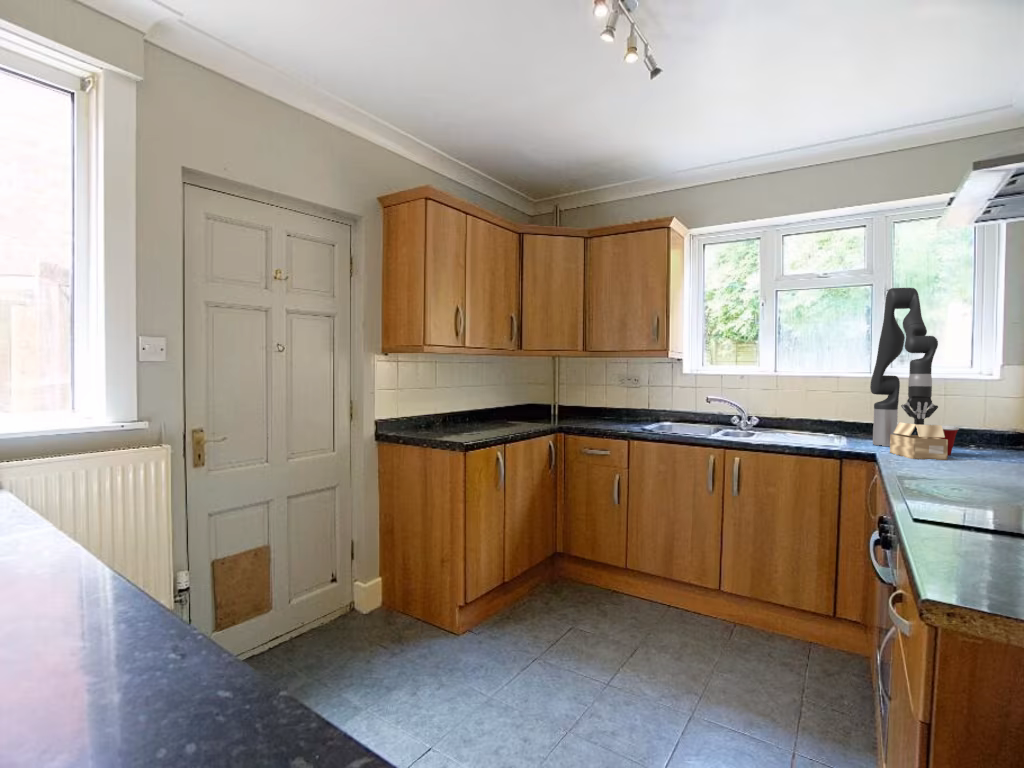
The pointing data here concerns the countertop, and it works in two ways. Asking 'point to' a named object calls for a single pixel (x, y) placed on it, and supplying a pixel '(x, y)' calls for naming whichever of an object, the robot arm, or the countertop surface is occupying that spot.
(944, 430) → the plastic cup
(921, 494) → the countertop surface
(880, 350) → the robot arm
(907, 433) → the long flap
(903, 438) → the carton
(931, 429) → the short flap
